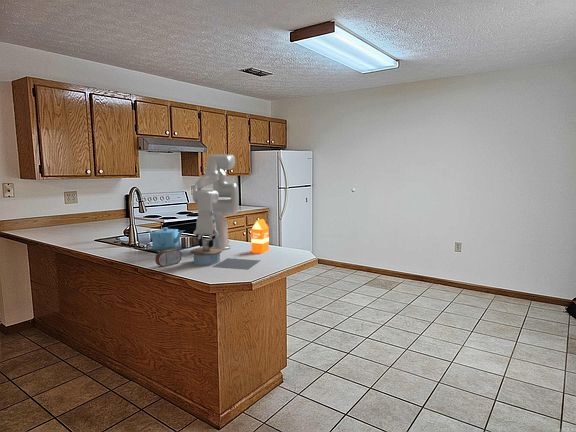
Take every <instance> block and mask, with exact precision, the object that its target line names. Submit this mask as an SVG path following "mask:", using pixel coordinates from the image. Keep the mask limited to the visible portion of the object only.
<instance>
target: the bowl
mask: <svg viewBox="0 0 576 432" xmlns="http://www.w3.org/2000/svg"><path fill="white" fill-rule="evenodd" d="M220 254H221V253H219V254H214V255H194V254H192V255H193V256H192V257H193V264H194V265H195V264H196V265H198V266H199V265H200V266H201V265H202V266H209V265H216V264H218V263H220V262H221V259H220V258H221V257H220V256H221V255H220Z"/></svg>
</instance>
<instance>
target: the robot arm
mask: <svg viewBox="0 0 576 432" xmlns="http://www.w3.org/2000/svg"><path fill="white" fill-rule="evenodd" d="M206 158H207V159H206V165H205V166H206V167H205V170H204V175H202V176H201V177H200V178H199V179H198V180H197V181H196V182H195V184H194V186H193V191H192V201H193V202H194V203H196V204H197V208H198V209H197V210H198V213H197V214H198V216H197V217H196V227H195V230H194V231H192V232H193V235H194V236H195V237H196V238H197V240H198V245H199V248H203V244H202V240H203V239H204V238H203V237H204V236H208V238H209V239H210V240H209V247H210V248H211V247H215V248H220V249H222V251H224V250H228V249H230V248H231V245H229V243H230V240H229V238H228V235H229V234H228V233H229V232H228V219H227V218H226V217H225V216H224V215H237V214H238V212H239V187H238V184H237V183H235V182H227V174H226V172H225V170H231V169H233V168H234V167H235V165H236V157H235V155H233V154H229V153H228V154H226V153H225V154H221V153H220V154H217V153H216V154H210V155H208V156H207V157H206ZM211 185H212V189H203V188H205V187H207V186H211ZM220 198H222V199H220ZM223 198H230V199H223Z"/></svg>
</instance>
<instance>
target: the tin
mask: <svg viewBox="0 0 576 432" xmlns="http://www.w3.org/2000/svg"><path fill="white" fill-rule="evenodd" d="M156 253H157V254H156V256H155V258H154V260H155V263H156V265H157V266H159V267H169V266H173V265H177V264H179V263H180V262H181V260H182V256H183V255H182V252H181V250H180V249H178V248H176V249H168V250H161V251H160V252H156Z"/></svg>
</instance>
